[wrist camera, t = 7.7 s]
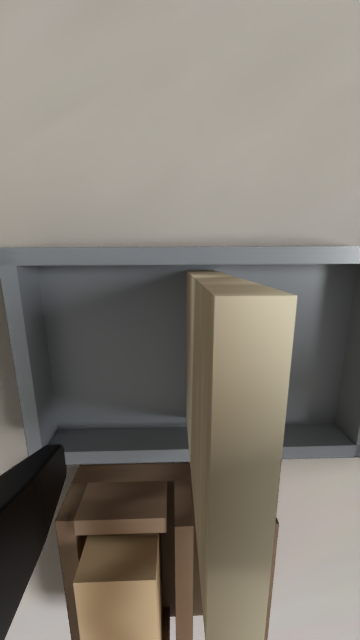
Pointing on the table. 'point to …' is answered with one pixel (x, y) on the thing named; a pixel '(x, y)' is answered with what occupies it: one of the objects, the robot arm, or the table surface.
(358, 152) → the table surface
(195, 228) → the table surface
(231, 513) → the birch sheet
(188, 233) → the table surface
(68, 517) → the walnut rack
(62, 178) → the table surface
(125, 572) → the upper oak offcut
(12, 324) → the gray tray
